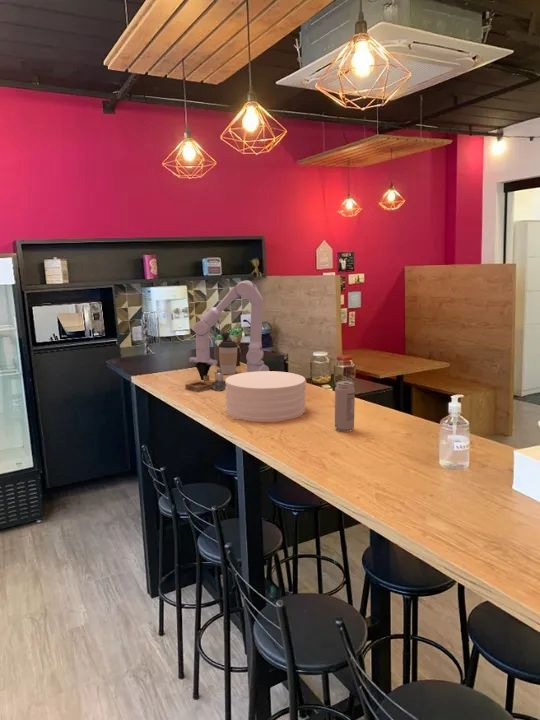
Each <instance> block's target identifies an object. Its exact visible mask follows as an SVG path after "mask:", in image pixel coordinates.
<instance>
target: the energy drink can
mask: <svg viewBox="0 0 540 720" xmlns="http://www.w3.org/2000/svg"><path fill="white" fill-rule="evenodd" d="M355 389H356V388H355V386H354V382H353V381H348V380H341V381H338V382H337V384H336V386H335V388H334V428H336V431H338V430H339V431H338V432H341V431H349V432H351V431H350V430H352V431H353V429H354V428H355V402H356V400H355V396H356V395H355V394H356V393H355V392H356V390H355Z"/></svg>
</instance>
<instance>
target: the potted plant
mask: <svg viewBox="0 0 540 720" xmlns="http://www.w3.org/2000/svg"><path fill="white" fill-rule="evenodd" d="M221 338H222V342H223V341H226V340H230V341H232V339H231V338H230V333H229V332H227V331H224V332H222V333H221ZM213 353H214V359H213V360H217V365H216V366H217V367H219V368H220V359H219V345H215V346H213ZM240 363H241V347H239V346H238V347H237V364H236V367H240V366H241V364H240Z"/></svg>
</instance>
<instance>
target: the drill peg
mask: <svg viewBox="0 0 540 720" xmlns="http://www.w3.org/2000/svg"><path fill="white" fill-rule="evenodd" d="M214 381H215V386H217V387H221V386H224V385H223V381H224V374H223V372H221V369H220V368H216V371H215V372H214Z"/></svg>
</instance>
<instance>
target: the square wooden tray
mask: <svg viewBox="0 0 540 720" xmlns="http://www.w3.org/2000/svg"><path fill="white" fill-rule="evenodd" d="M184 386H185V387H184V388H185V390H186V391H191V392H195V391H196V392H195V393H201V392H205V390H206V391H209V389H210V387H213V384H210V383H206V382H204V381H202V380H199V381H196V382H195V381H194V382H190V383H186V384H184ZM200 391H201V392H200Z"/></svg>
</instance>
